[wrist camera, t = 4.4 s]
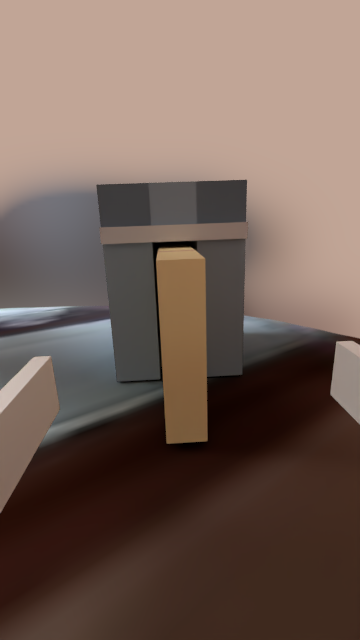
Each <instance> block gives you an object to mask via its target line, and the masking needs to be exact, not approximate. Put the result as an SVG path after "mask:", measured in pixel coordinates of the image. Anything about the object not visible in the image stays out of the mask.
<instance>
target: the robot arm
mask: <svg viewBox="0 0 360 640" xmlns="http://www.w3.org/2000/svg"><path fill="white" fill-rule="evenodd" d="M330 394H331V396H332V397H333V398H334V399H335V400H336V401H337V402H338V403H339V404H340V405H341V406H342V407H343V408H344V409H345V410H346V411H347V412H348V413H349V414H350V415H351V416H352V417H353V418H354V419H355V420H356V421H357V422H358V423H359V424H360V345H358V344H357V343H355V342H354V341H340V342H336V350H335V358H334V367H333V376H332V384H331V393H330ZM59 410H60V407H59V401H58V395H57V389H56V383H55V377H54V371H53V365H52V359H51V356H40V357H33V358H32V359H31V360H30V361H29V362H28V363H27V364H26V365H25V366H24V367H23V368H22V369H21V370H20V371H19V372H18V373H17V374H16V375H15V376H14V377H13V378H12V379H11V380H10V381H9V382H8V383H7V384H6V385H5V386H4V387H3V388H2V389H1V390H0V513H1V511H2V509H3V508H4V506H5V504H6V502H7V501H8V499H9V497H10V496H11V494H12V492H13V490H14V489H15V487H16V485H17V483H18V482H19V480H20V478H21V476H22V475H23V473H24V471H25V469H26V468H27V466H28V464H29V462H30V461H31V459H32V457H33V455H34V454H35V452H36V450H37V448H38V447H39V445H40V443H41V441H42V440H43V438H44V436H45V434H46V433H47V431H48V429H49V427H50V426H51V424H52V422H53V421H54V419H55V417H56V415H57V414H58V412H59Z"/></svg>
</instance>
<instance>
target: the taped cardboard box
mask: <svg viewBox="0 0 360 640" xmlns="http://www.w3.org/2000/svg"><path fill="white" fill-rule="evenodd" d="M156 268H157V285H158V303H159V320H160V337H161V355H162V372H163V390H164V407H165V424H166V442H167V444H171V443H187V442H203V441H208V433H207V353H206V274H205V258H204V257H203V256H202V255H200V254H199V253H198V252H197V251H196V250H194V249H193V248H192V247H190V246H189V245H188V244H187V243H169V244H160V246H159V250H158V251H157V259H156Z"/></svg>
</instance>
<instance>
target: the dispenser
mask: <svg viewBox="0 0 360 640" xmlns="http://www.w3.org/2000/svg"><path fill="white" fill-rule="evenodd" d="M246 189H247V180H230V181H229V180H228V181H199V182H167V183H138V184H106V185H97V194H98V204H99V213H100V223H101V228H100V237H101V244H103V251H104V261H105V271H106V280H107V290H108V298H109V309H110V319H111V328H112V338H113V347H114V357H115V366H116V376H117V382H119V381H137V380H155V379H160V373H161V337H160V320H159V303H158V285H157V268H156V259H157V251H158V250H159V246H160V244H169V243H187V244H188V245H189V246H190V247H192V248H193V249H194V250H196V251H197V252H198V253H199V254H200V255H202V256H203V257H204V258H205V274H206V353H207V377H210V376H228V375H242V364H243V321H244V279H245V239H246V238H247V235H248V222H246V194H247V190H246Z"/></svg>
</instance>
